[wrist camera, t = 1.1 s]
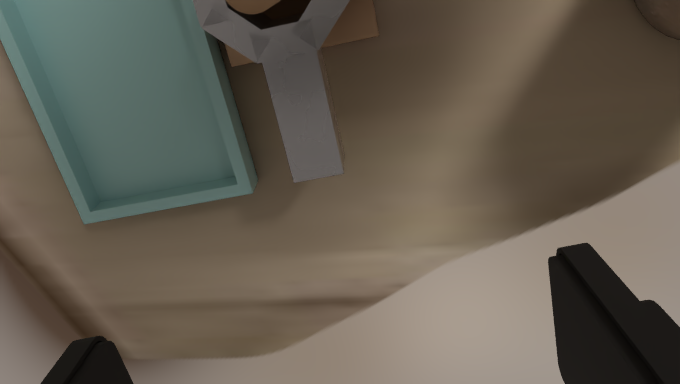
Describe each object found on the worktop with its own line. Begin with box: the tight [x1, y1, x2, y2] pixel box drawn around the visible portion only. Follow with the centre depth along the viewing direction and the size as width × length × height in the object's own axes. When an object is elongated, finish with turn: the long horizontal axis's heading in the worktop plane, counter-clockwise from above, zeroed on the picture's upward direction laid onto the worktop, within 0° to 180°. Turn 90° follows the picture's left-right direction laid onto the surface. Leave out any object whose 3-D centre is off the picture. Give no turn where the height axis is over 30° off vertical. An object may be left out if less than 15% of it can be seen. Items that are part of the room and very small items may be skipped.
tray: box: [0, 0, 258, 224], centre depth 29 cm, size 18×10×2 cm, turn 12°
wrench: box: [193, 0, 350, 183], centre depth 24 cm, size 12×6×4 cm, turn 12°
